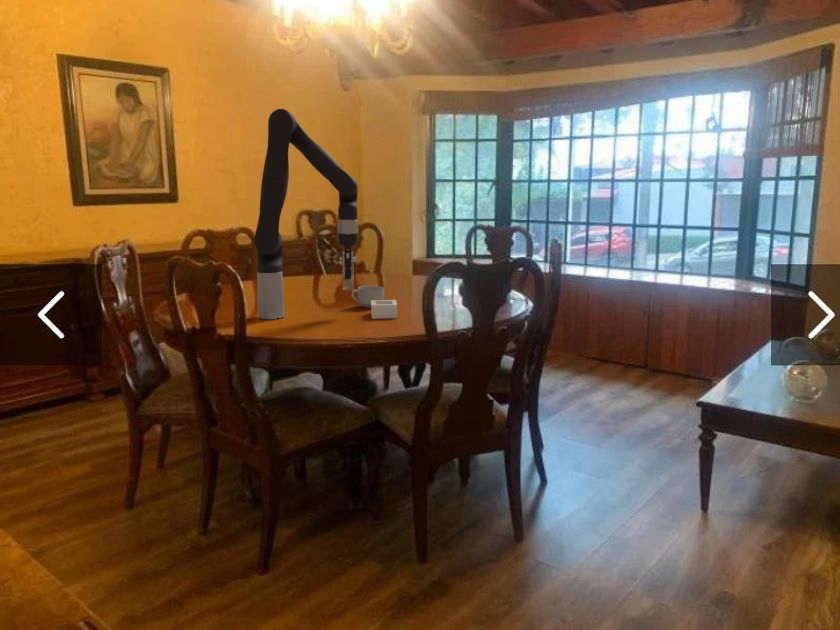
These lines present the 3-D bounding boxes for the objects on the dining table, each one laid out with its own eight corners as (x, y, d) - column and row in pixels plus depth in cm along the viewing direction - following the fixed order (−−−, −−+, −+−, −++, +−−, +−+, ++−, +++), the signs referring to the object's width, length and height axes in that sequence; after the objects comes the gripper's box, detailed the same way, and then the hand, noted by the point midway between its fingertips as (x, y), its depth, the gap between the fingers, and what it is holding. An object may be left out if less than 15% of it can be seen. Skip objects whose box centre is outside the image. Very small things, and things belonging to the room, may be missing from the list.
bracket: (340, 290, 248) (339, 257, 246) (340, 288, 252) (340, 256, 250) (356, 290, 249) (356, 258, 247) (356, 288, 253) (356, 256, 251)
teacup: (380, 303, 279) (379, 284, 278) (388, 308, 269) (387, 288, 268) (347, 306, 274) (347, 286, 273) (354, 310, 264) (353, 290, 263)
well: (371, 318, 248) (371, 305, 247) (371, 313, 259) (371, 300, 258) (397, 318, 249) (397, 304, 248) (395, 312, 260) (395, 299, 259)
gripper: (338, 230, 253) (338, 275, 256) (337, 233, 239) (337, 280, 243) (358, 230, 254) (358, 275, 257) (358, 233, 240) (358, 281, 243)
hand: (348, 278), depth 250 cm, fingers closed on bracket, 4 cm apart
